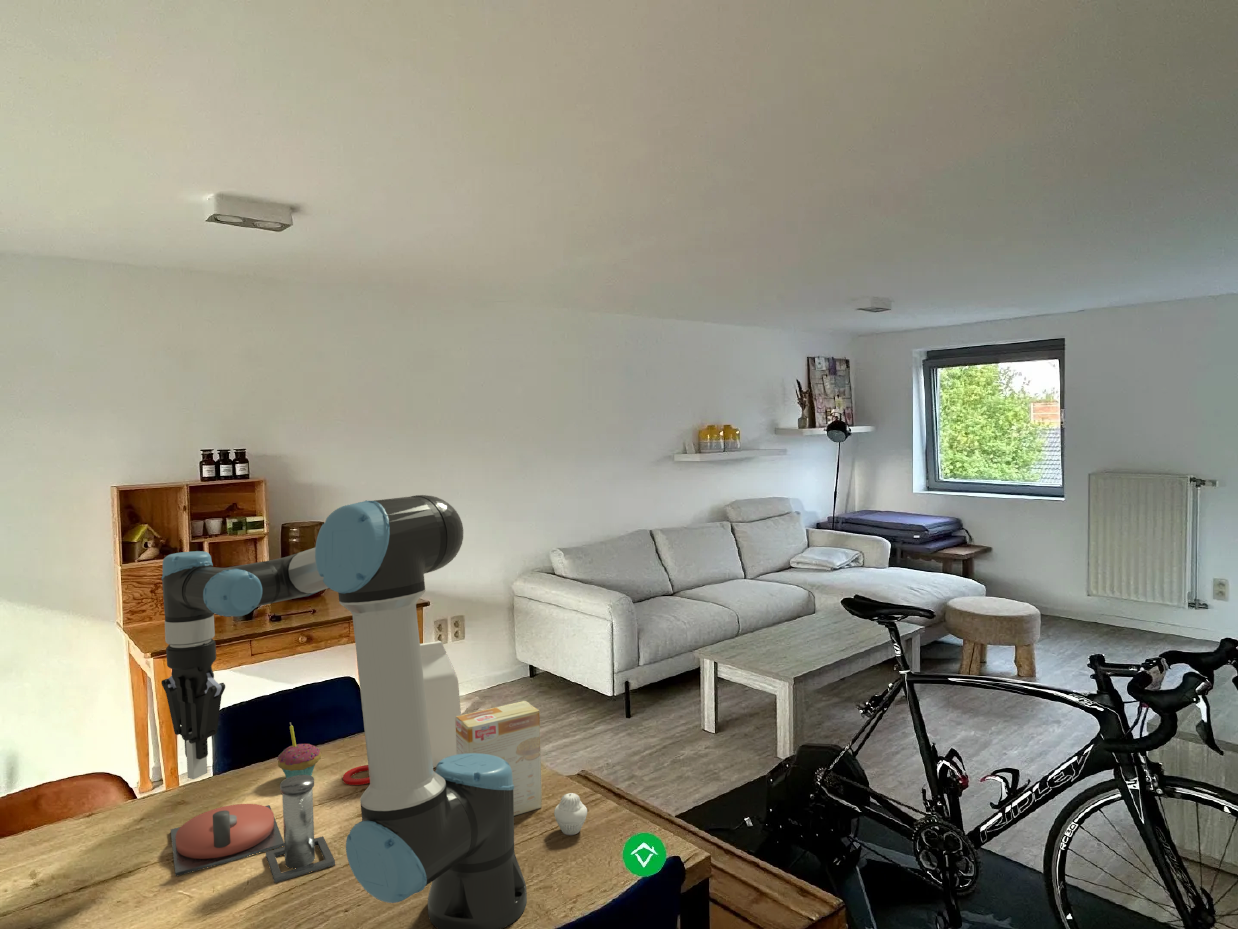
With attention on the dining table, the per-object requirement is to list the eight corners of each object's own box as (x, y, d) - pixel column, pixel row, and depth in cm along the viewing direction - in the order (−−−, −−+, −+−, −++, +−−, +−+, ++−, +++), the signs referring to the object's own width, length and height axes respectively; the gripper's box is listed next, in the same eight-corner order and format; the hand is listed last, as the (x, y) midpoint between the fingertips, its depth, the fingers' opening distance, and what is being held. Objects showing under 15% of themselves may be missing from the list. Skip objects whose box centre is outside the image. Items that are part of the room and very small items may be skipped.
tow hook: (336, 788, 165) (380, 786, 165) (331, 727, 164) (375, 725, 164) (352, 770, 173) (393, 768, 173) (347, 712, 173) (389, 710, 172)
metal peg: (319, 863, 136) (316, 784, 135) (286, 873, 133) (282, 792, 132) (313, 849, 140) (310, 772, 140) (280, 858, 137) (277, 780, 137)
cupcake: (269, 785, 166) (267, 728, 165) (296, 767, 174) (294, 714, 173) (303, 790, 163) (301, 733, 163) (330, 772, 171) (328, 718, 171)
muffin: (547, 834, 144) (546, 796, 144) (566, 819, 150) (565, 783, 149) (576, 843, 141) (575, 804, 141) (594, 827, 146) (593, 790, 146)
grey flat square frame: (335, 865, 135) (335, 860, 135) (274, 883, 130) (274, 878, 130) (323, 840, 143) (323, 836, 143) (265, 856, 138) (265, 852, 138)
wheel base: (284, 846, 141) (284, 843, 141) (175, 876, 132) (175, 873, 132) (269, 808, 156) (269, 805, 156) (170, 832, 147) (170, 829, 147)
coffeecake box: (527, 794, 160) (525, 699, 159) (543, 808, 154) (541, 710, 153) (456, 814, 152) (454, 715, 151) (470, 830, 146) (468, 727, 145)
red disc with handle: (182, 823, 148) (181, 786, 148) (275, 806, 154) (274, 771, 154) (169, 868, 133) (167, 827, 133) (272, 847, 139) (271, 808, 139)
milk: (410, 772, 171) (407, 654, 169) (398, 753, 181) (394, 641, 179) (464, 760, 176) (461, 645, 175) (449, 742, 186) (446, 634, 185)
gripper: (236, 639, 137) (242, 772, 139) (183, 633, 143) (190, 761, 144) (198, 651, 131) (205, 791, 132) (144, 644, 136) (151, 778, 137)
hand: (197, 775), depth 138 cm, fingers closed
